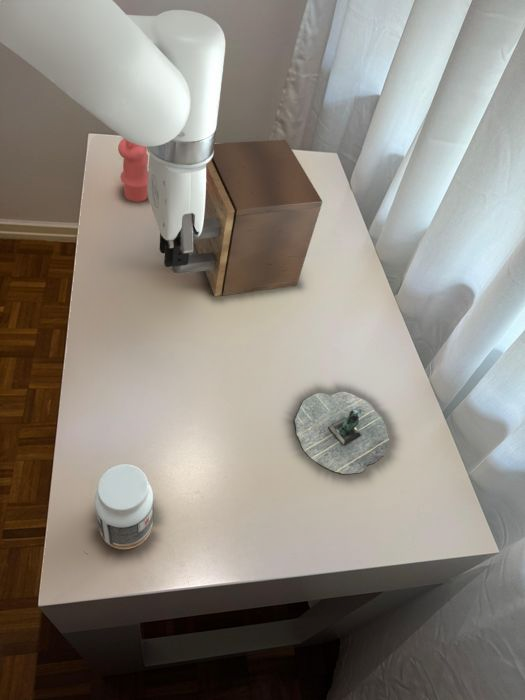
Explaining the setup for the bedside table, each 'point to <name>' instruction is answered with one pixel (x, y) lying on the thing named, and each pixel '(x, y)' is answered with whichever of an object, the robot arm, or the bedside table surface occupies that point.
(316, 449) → the sculpture
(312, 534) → the bedside table surface
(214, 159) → the cabinet
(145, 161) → the figurine
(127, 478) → the pill bottle
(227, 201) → the door
